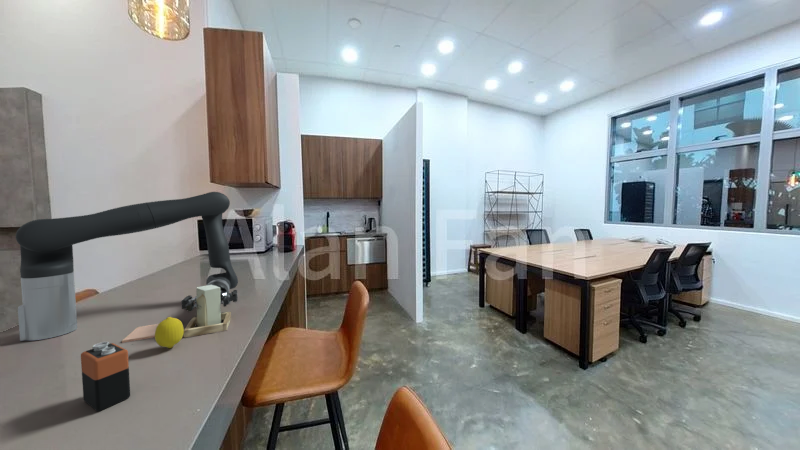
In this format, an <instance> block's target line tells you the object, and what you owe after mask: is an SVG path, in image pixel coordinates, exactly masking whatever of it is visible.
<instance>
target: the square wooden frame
mask: <svg viewBox="0 0 800 450" xmlns="http://www.w3.org/2000/svg"><path fill="white" fill-rule="evenodd" d="M231 319H232V311H225V312H221V321H223V322H221V323H220V324H214V325H208V326H202V327H197V316H194V317H192V318H191V319H190V321H189V322H188V323H187V325H186V327H185V328H184V334H183V338H184V339H186V338H192V337H197V336H202V335H207V334H215V333H220V332H224V331H228V329H229V325H230V321H231ZM195 325H196V326H195Z"/></svg>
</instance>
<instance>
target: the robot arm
mask: <svg viewBox="0 0 800 450" xmlns="http://www.w3.org/2000/svg"><path fill="white" fill-rule="evenodd" d="M230 201H231V200H230V199H229V197H228V196H227V195H226V194H224V193H223V192H219V191H209V192H206V193H202V194H198V195H196V196H191V197H186V198H178V199H176V198H175V199H166V200H165V199H164V200H158V201H157V200H156V201H147V202H142V203H135V204H130V205H129V204H128V205H124V206H119V207H115V208H112V209H111V208H110V209H107V210H103V211H99V212H96V213H95V212H94V213H91V214H86V215H78V216H77V215H76V216H70V217H59V218H57V217H56V218H39V219H33V220H30V221H27V222H26V223H24V224H22V225H21V226H20V227H18V229H17V230H16V233H15V240H16V242H17V244H18V245H19V247H20V248H19V249H20V267H19V273H20V284H21V285H20V287H21V299H22V301H21V302H22V304H21V305H18V307H17V319H18V334H19V341H20V342H23V341H38V340H39V341H40V340H47V339H51V338H55V337H59V336H62V335H63V336H64V335H66V334H68V333H69V334H70V333H72V332H74V331H76V330H78V318H77V302H76V288H75V286H76V285H75V273H74V249H73V247H74V246H73V245H75V244H80V243H83V242H88V241H90V240H95V239H101V238H105V237H114V236H123V235H128V234H129V235H130V234H134V233H140V232H145V231H150V230H153V229H154V230H155V229H160V228H163V227H166V226H169V225H173V224H175V223H179V222H183V221H185V220H188V219H191V218H196V217H197V218H198V217H201V218H202V222H203V226H204V227H203V228H204V230H205V238H206V244H207V253H208V254H207V255H208V263H209V267H210V268H212V269H223V270H224V271H225V272H221V273H214V274H210V275H209V276H208V277H207V278H206V283H205V284H206V285H211V284H212V285H215V286H218V287H220V299H221V305H222V306H223V307H224V308H225V307H227V306H228V305H230V303H232V302H233V303H236V302H238V289H235V288H236V287H237V285H238V283H239V278H238V276H237V273H236V272H235V270H234V268H233V265H232V261H231V255H230V247H229V242H228V239H227V237H226V233H225V231H224V226H223V214H224V213H225V212H226V211H227V210H228V209H229V207H230V204H231V203H230ZM206 285H205V286H206ZM233 289H234V290H233ZM230 290H232V291H231V292H230ZM180 301H181V309H182V310H185V311H187V312H188V313H189V312H190V313H191V312H192V311H193V310H194V308H197V295H195V296H194V297H193V295H188V296H187V295H186V297H184V298H183V299H181V300H180Z"/></svg>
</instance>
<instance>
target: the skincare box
mask: <svg viewBox="0 0 800 450" xmlns="http://www.w3.org/2000/svg"><path fill="white" fill-rule="evenodd" d="M195 290H196V291H195V292H196V295H195V296H197V307H196V317H197V324H196V327H202V326H208V325H214V324H220V323H222V320H221V313H222V312H221V311H222V310H221V309H222V307H221V305H222V304H221V299H220V287H218V286H215V285H212V284H211V285H200V286H197V287H196V289H195Z"/></svg>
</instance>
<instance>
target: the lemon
mask: <svg viewBox="0 0 800 450" xmlns="http://www.w3.org/2000/svg"><path fill="white" fill-rule="evenodd" d="M157 324H158V326H157V328H156V331H155V337H154V339H155V340H154V341H155V342H156V344H157V345H158V346H160V347H163V348H168V349H172V348H173V347H174V346H175V345H177V344H178V343H179V342H180V341H181V340H182V339H183V338H184V329H185V328H184V325H183V322H182V321H181V320H180V319H178V318H176V317H172V316H168V317H166V318H165V319H163V320H162V321H160V322H159V323H157Z"/></svg>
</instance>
